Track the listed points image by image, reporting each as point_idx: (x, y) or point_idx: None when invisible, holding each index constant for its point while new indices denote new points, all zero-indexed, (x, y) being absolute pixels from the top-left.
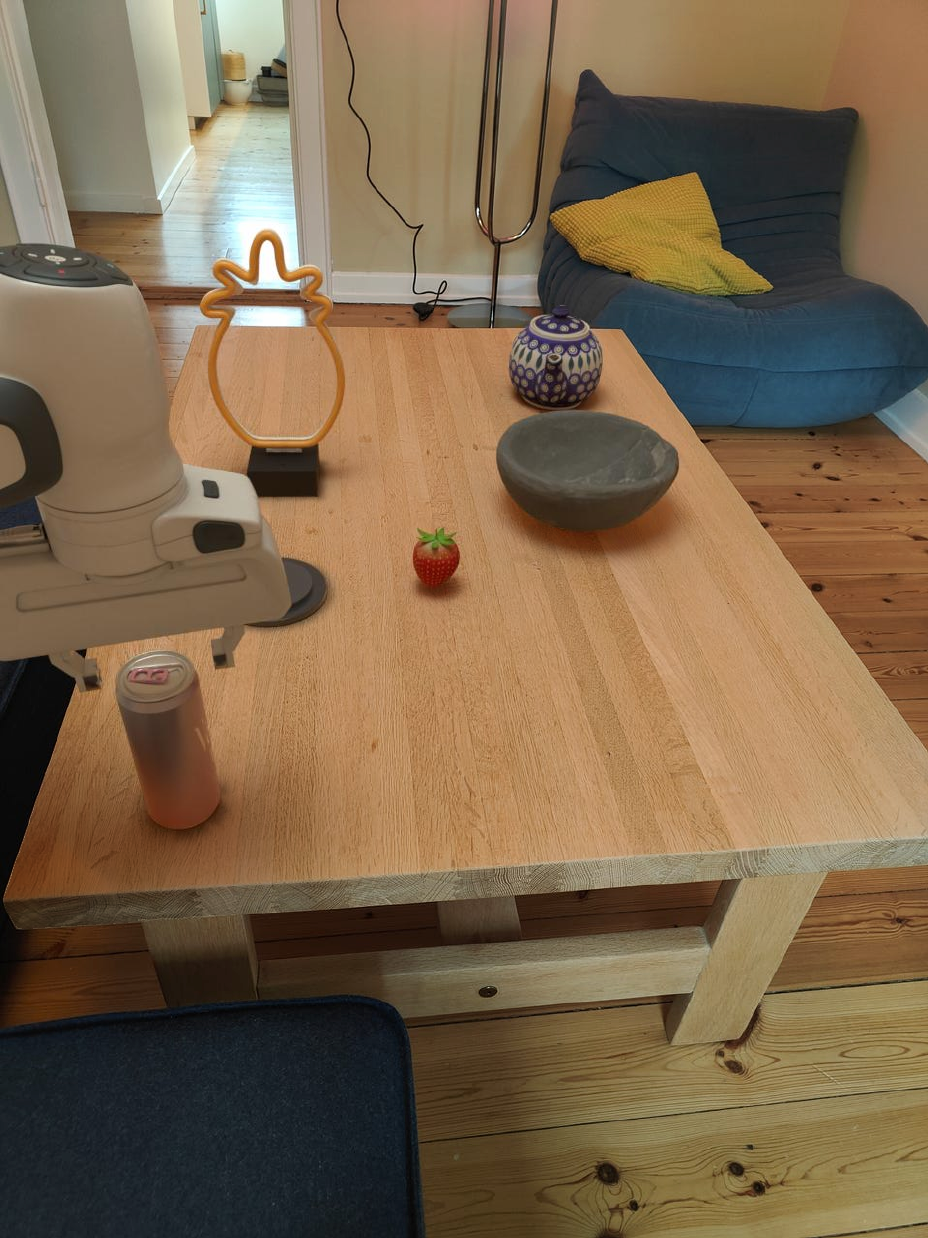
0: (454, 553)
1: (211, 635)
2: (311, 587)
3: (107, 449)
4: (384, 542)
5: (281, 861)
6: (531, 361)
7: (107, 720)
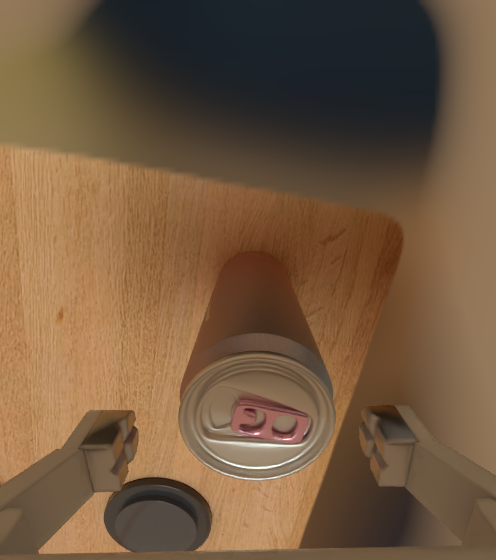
0: None
1: (219, 478)
2: (116, 518)
3: None
4: None
5: (160, 189)
6: None
7: None
